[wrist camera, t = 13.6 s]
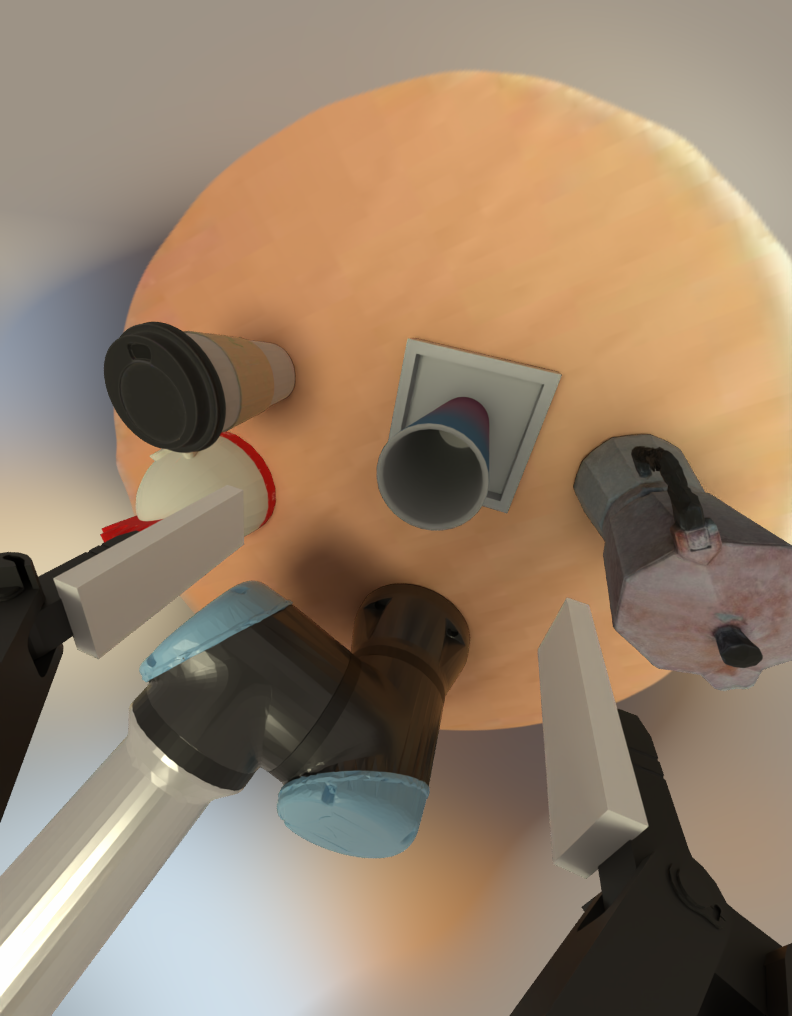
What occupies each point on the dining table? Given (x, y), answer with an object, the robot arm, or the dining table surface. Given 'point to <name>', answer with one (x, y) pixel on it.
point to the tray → (493, 383)
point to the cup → (438, 466)
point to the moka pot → (686, 565)
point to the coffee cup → (192, 383)
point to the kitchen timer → (201, 484)
